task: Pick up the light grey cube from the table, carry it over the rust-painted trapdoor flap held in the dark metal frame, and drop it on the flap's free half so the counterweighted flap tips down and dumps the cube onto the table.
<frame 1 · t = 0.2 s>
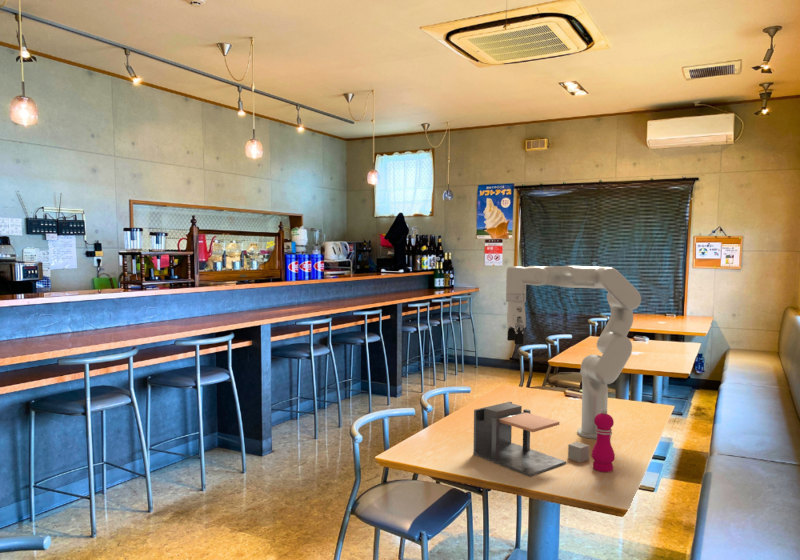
hand: (515, 342, 217), 37 cm above the table, tool pointing down, fingers open, 9 cm apart
frame: (511, 456, 197), on the table
trapdoor: (520, 419, 193), point 14 cm above the table, hinge at 0.0°
pepper mill: (602, 469, 186), on the table
light grey cube: (578, 459, 195), on the table
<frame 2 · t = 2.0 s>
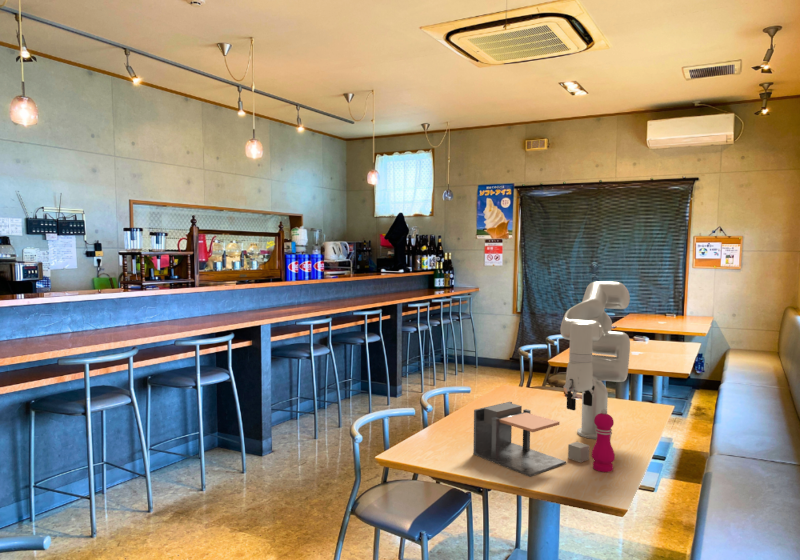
hand: (579, 407, 194), 18 cm above the table, tool pointing down, fingers open, 9 cm apart
nothing on the table moved.
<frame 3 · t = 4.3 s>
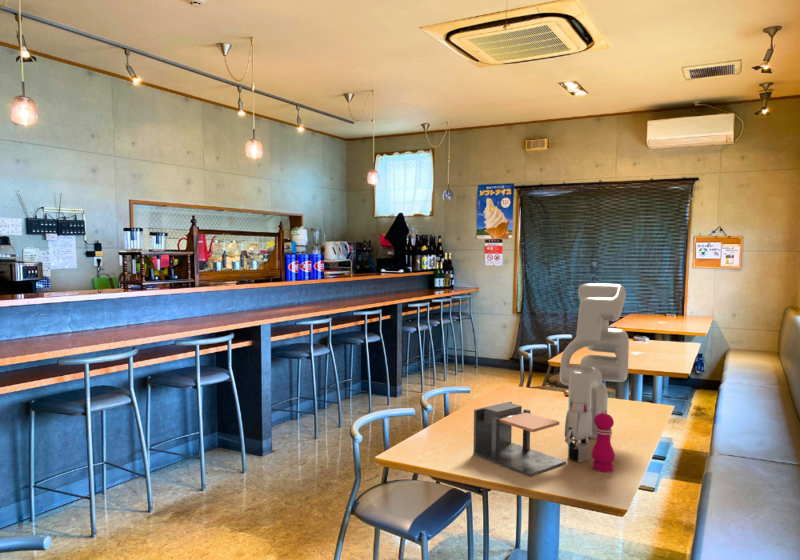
hand: (578, 457, 195), 0 cm above the table, tool pointing down, fingers closed on light grey cube, 5 cm apart
light grey cube: (578, 458, 195), on the table, touching gripper
everything else where it was.
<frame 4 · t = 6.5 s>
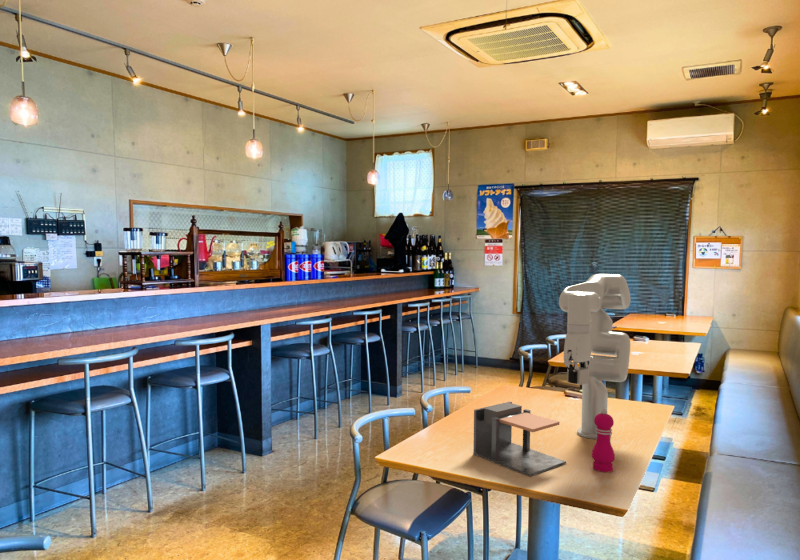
hand: (577, 381, 193), 27 cm above the table, tool pointing down, fingers closed on light grey cube, 5 cm apart
light grey cube: (577, 382, 193), point 27 cm above the table, touching gripper
everything else where it was.
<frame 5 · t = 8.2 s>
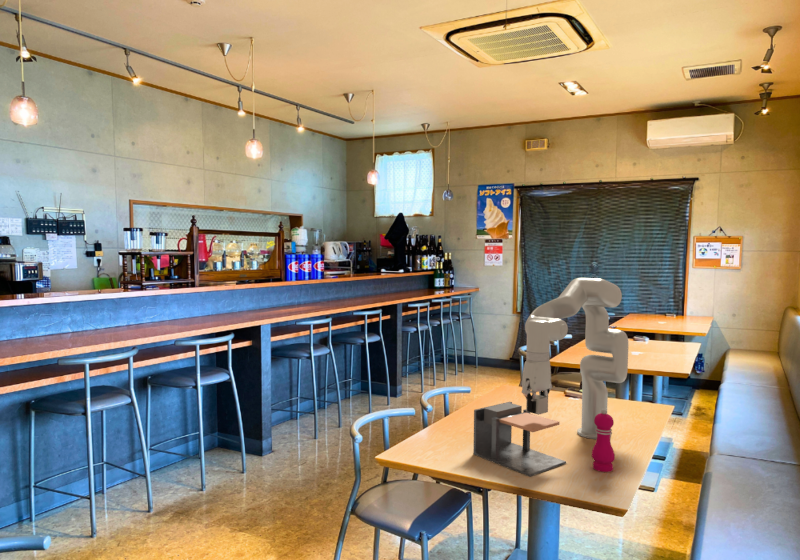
hand: (536, 410, 187), 19 cm above the table, tool pointing down, fingers closed on light grey cube, 5 cm apart
light grey cube: (537, 411, 187), point 18 cm above the table, touching gripper
everything else where it was.
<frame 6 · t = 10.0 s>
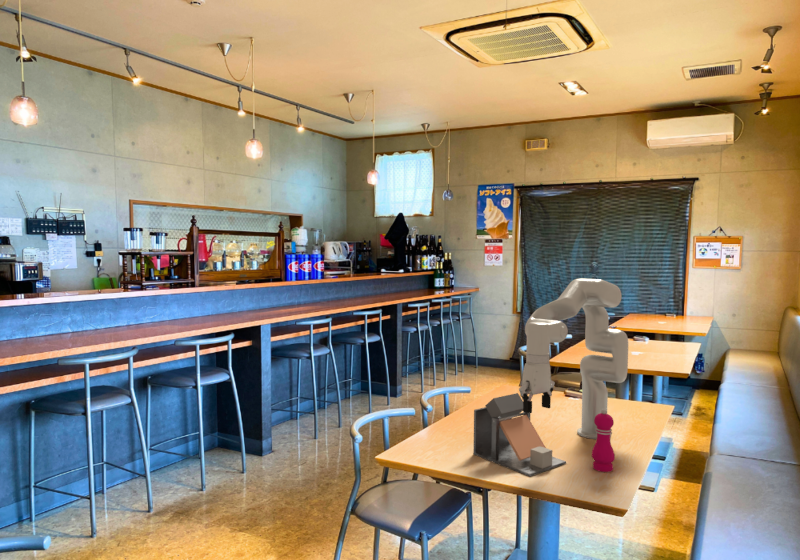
hand: (536, 409, 187), 19 cm above the table, tool pointing down, fingers open, 9 cm apart
trapdoor: (517, 426, 194), point 11 cm above the table, hinge at -48.1°, touching light grey cube
light grey cube: (535, 454, 188), point 3 cm above the table, tilted 90°, touching frame, trapdoor
everything else where it was.
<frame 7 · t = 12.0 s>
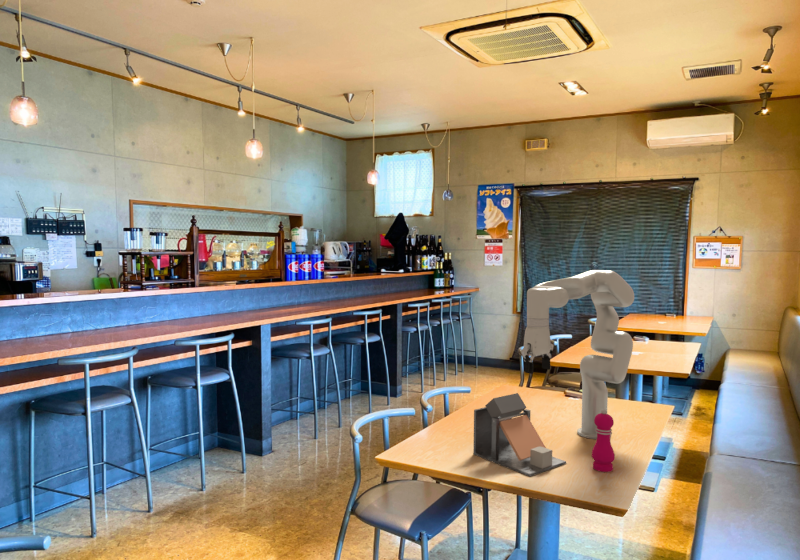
hand: (537, 370, 199), 30 cm above the table, tool pointing down, fingers open, 9 cm apart
nothing on the table moved.
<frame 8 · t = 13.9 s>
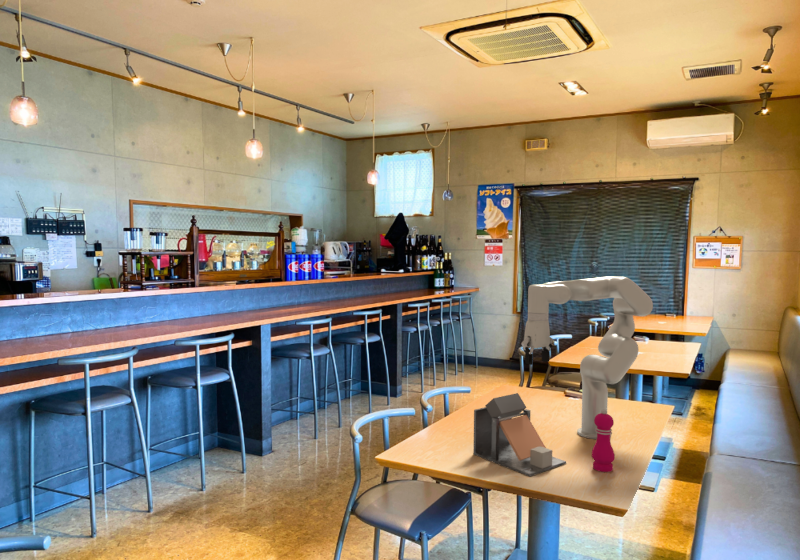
hand: (537, 362, 210), 30 cm above the table, tool pointing down, fingers open, 9 cm apart
nothing on the table moved.
at the end: light grey cube point 3.3 cm above the table; light grey cube moved 18.0 cm from its start; light grey cube 10.3 cm from the frame (horizontally) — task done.
